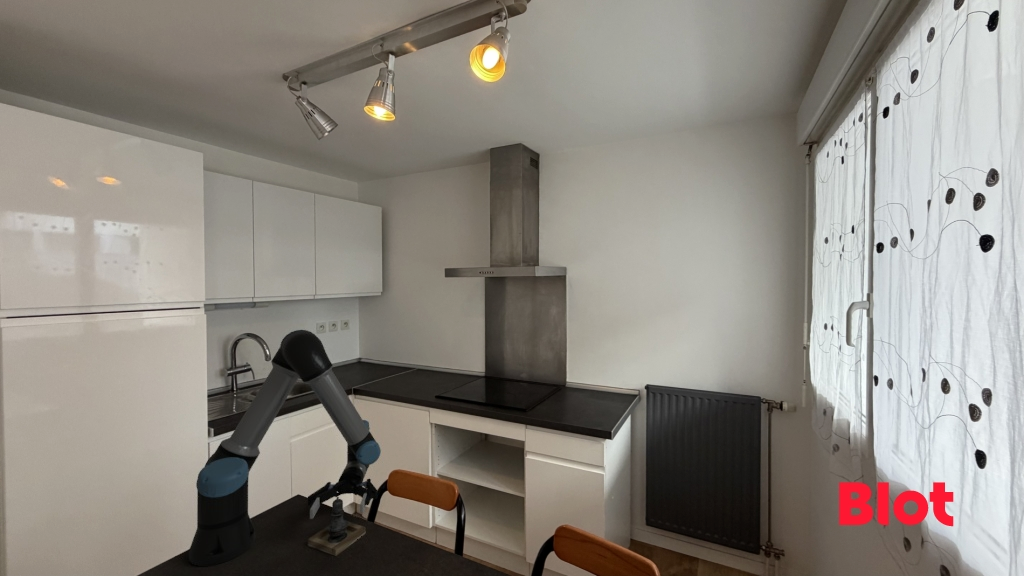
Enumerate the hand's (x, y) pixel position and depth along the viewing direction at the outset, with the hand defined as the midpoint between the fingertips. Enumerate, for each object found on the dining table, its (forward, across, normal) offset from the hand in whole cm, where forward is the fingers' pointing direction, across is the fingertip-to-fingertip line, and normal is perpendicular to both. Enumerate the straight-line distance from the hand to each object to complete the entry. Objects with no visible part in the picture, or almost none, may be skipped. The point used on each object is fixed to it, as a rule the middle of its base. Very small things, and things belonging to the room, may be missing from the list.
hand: (336, 511), depth 113 cm
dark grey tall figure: (-2, 0, -9) cm, 9 cm away
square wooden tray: (-2, 0, -9) cm, 9 cm away
